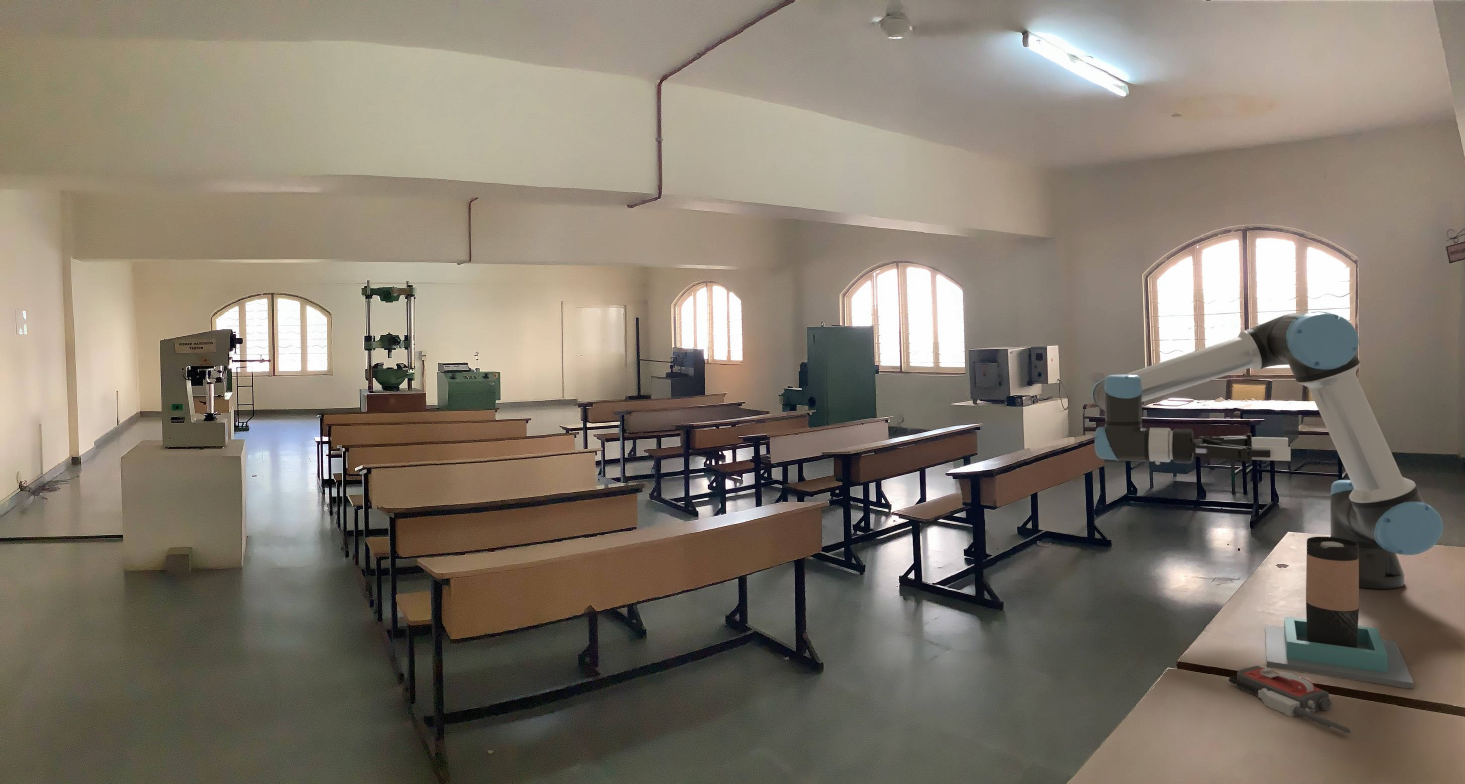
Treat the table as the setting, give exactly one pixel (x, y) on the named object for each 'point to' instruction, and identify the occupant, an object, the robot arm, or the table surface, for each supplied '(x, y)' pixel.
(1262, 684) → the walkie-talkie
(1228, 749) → the table surface
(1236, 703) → the table surface
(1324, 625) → the travel mug
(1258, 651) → the table surface
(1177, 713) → the table surface
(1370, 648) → the mug dock
